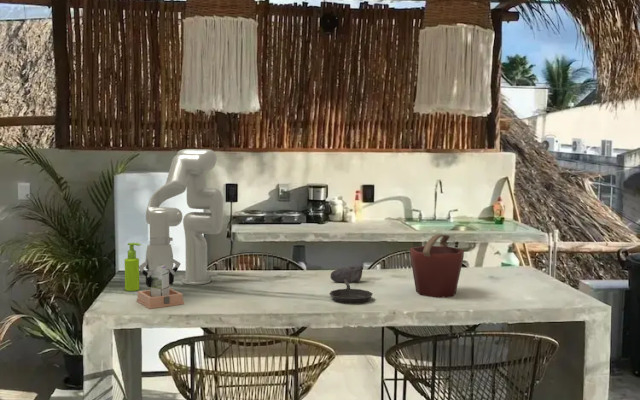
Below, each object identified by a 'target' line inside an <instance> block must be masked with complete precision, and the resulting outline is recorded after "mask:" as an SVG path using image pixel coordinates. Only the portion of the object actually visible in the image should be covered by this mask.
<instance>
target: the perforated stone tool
mask: <svg viewBox="0 0 640 400" xmlns="http://www.w3.org/2000/svg"><path fill="white" fill-rule="evenodd" d="M362 276H363V268H362V267H361V266H353V267H352V266H349V267H341V268H337V269H335V270H333V271H332V272H331V273H330V279H331V281H333V282H335V283H343V284H345V282H344V280H343V279H346V280H347V281H348V283H349V284H350V283H354V282H355V283H358V282H360V281H361V279H362Z"/></svg>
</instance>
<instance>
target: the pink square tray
mask: <svg viewBox="0 0 640 400" xmlns="http://www.w3.org/2000/svg"><path fill="white" fill-rule="evenodd" d="M136 292H137V298H136V302H137V303H139V304H140V305H142V306H144V307H145V308H147V309H158V308H165V307H172V306H181V305H185V301H184V293H182V292H179V291H177V290H175V289H173V288H171V287H169V294H170V295H165V296H157V297H150V289H148V290H137V291H136Z"/></svg>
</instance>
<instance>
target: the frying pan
mask: <svg viewBox="0 0 640 400" xmlns="http://www.w3.org/2000/svg"><path fill="white" fill-rule="evenodd" d="M343 280H344V282H345V283H344V284H345V285H346V288H339V289H338V288H337V289H335V290H331V291H330V292H329V295H330V297H331V298H332V299H333V301H335V302H337V303H341V304H351V305H352V304H354V305H356V304H363V303H366V302H367V303H368V302H369V300H370V299H371V298H372V296H373V294H374V293H373V292H371V291H369V290H366V289H365V290H364V289H361V288H351V285H350V283H348V281H347V280H346V279H343Z"/></svg>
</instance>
